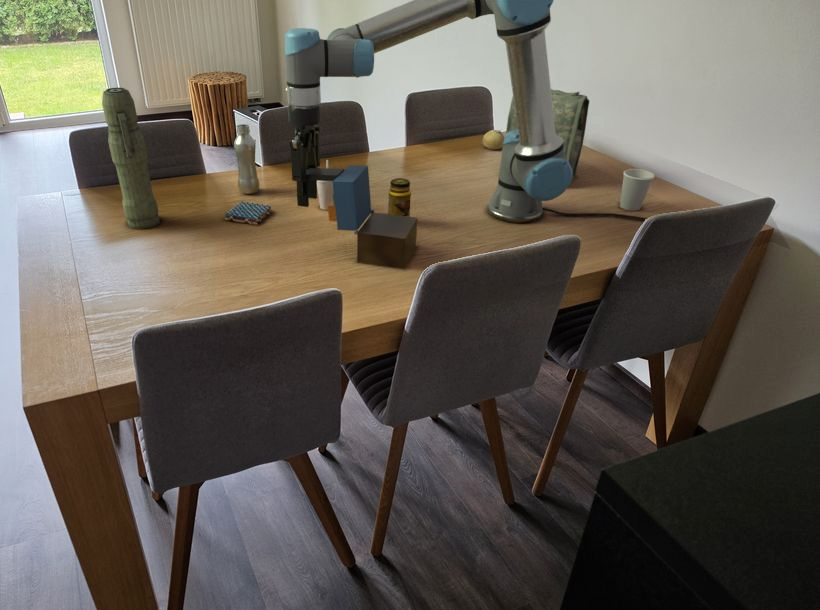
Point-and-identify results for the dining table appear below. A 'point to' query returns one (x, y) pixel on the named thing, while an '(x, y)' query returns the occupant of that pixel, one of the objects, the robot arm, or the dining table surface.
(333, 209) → the orange rectangular block
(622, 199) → the dixie cup
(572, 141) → the lunch bag
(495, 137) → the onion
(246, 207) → the woven mat
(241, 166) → the plastic bottle
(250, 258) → the dining table surface
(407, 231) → the stand
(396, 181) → the condiment
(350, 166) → the blue open box
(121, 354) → the dining table surface
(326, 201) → the smoothie
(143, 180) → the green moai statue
